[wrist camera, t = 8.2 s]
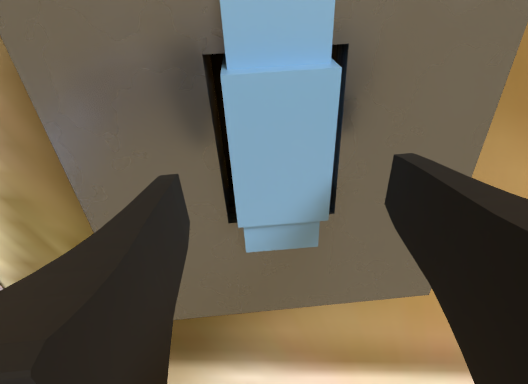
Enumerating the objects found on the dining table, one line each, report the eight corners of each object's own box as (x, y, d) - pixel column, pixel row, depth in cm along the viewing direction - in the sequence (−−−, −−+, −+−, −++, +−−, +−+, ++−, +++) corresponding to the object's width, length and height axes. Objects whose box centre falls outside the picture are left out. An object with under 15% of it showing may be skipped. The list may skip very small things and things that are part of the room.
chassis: (407, 259, 22) (428, 294, 20) (148, 284, 22) (137, 323, 20) (545, -240, 10) (647, -308, 8) (-47, -208, 10) (-145, -270, 7)
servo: (308, 202, 19) (325, 256, 16) (241, 208, 19) (242, 263, 15) (317, -18, 13) (349, -14, 9) (217, -12, 13) (211, -6, 9)
